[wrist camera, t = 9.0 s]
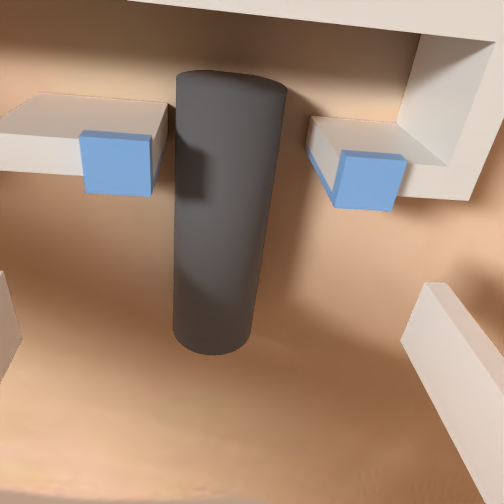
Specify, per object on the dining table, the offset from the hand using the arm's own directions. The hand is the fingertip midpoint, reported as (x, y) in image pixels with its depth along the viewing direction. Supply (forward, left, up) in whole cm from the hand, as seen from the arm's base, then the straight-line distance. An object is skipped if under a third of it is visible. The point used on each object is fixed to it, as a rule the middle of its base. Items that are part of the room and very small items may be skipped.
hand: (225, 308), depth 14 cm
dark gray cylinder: (+1, 0, -8) cm, 8 cm away
